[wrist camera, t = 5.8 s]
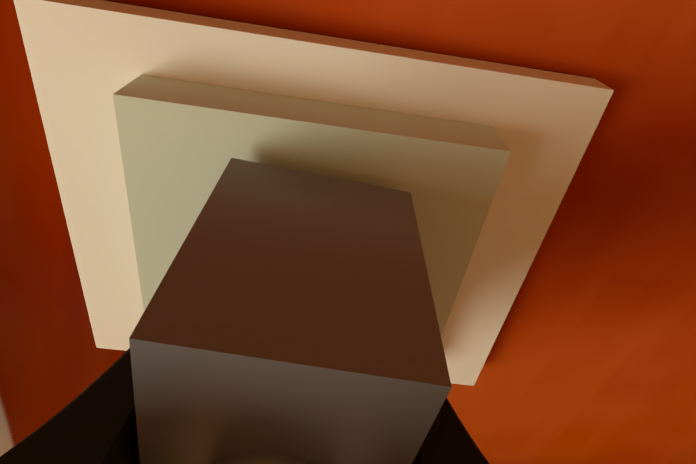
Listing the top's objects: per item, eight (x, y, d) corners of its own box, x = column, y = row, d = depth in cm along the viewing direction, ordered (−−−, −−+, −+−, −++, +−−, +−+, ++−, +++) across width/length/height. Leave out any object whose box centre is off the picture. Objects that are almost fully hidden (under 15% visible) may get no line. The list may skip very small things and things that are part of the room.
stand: (467, 363, 21) (483, 422, 18) (109, 326, 19) (74, 384, 17) (594, 78, 14) (650, 112, 11) (39, -10, 12) (-40, 5, 10)
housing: (410, 192, 12) (461, 437, 6) (353, 369, 15) (352, 622, 10) (231, 157, 11) (100, 387, 5) (218, 348, 15) (132, 602, 9)
